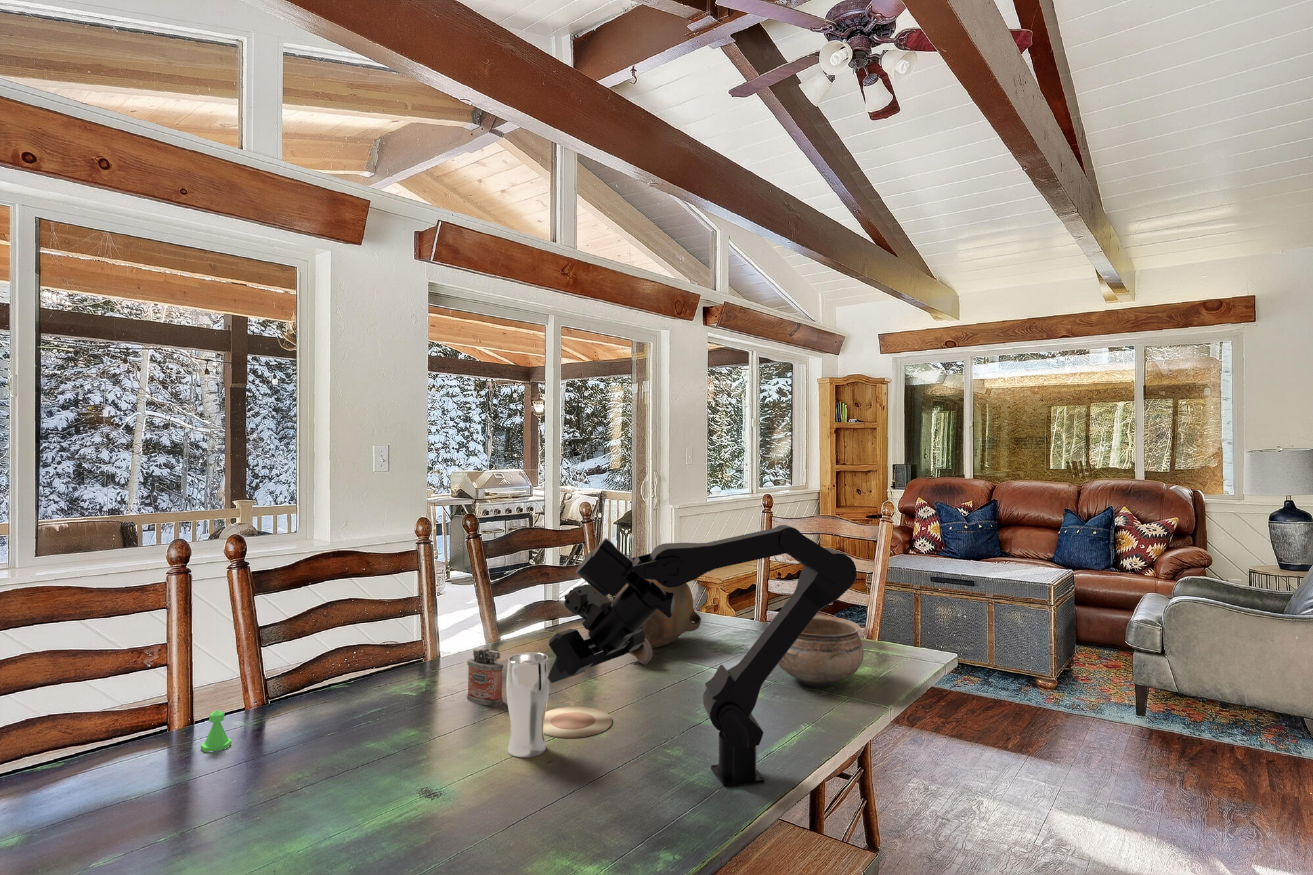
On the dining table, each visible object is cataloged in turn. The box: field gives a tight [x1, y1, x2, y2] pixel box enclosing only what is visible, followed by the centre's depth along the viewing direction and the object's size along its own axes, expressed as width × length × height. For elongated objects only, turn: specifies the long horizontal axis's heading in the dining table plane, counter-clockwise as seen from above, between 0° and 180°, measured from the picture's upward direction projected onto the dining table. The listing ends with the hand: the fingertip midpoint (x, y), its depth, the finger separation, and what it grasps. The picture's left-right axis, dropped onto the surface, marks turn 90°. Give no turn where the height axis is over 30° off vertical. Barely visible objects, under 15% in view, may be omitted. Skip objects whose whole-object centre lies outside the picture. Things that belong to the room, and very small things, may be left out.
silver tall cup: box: [505, 651, 550, 759], centre depth 119 cm, size 7×7×15 cm
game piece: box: [200, 709, 233, 753], centre depth 119 cm, size 4×4×6 cm
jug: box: [614, 579, 702, 666], centre depth 178 cm, size 20×20×30 cm
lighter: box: [466, 647, 504, 707], centre depth 141 cm, size 8×3×10 cm, turn 62°
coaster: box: [544, 706, 613, 739], centre depth 131 cm, size 14×14×1 cm
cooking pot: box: [777, 614, 865, 688], centre depth 155 cm, size 25×19×12 cm
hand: (568, 672), depth 115 cm, fingers open, 9 cm apart
